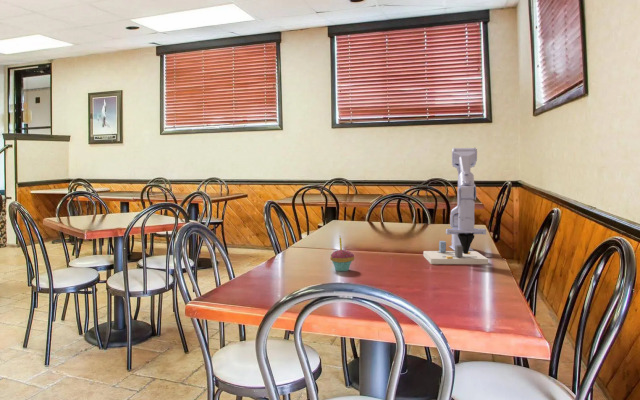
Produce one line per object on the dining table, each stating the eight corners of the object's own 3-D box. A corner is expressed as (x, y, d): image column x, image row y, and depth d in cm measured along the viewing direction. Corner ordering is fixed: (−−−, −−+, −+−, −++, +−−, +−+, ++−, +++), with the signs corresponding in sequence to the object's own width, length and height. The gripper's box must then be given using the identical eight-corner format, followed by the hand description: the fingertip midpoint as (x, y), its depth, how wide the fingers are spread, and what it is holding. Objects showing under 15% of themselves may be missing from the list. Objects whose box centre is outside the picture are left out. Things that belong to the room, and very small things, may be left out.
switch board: (423, 255, 186) (423, 249, 186) (475, 256, 185) (476, 249, 185) (431, 264, 171) (431, 257, 171) (488, 264, 170) (488, 257, 170)
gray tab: (455, 255, 176) (455, 244, 175) (460, 255, 175) (460, 244, 175) (457, 256, 173) (457, 246, 172) (462, 256, 172) (462, 246, 172)
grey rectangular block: (439, 250, 185) (439, 240, 184) (444, 250, 185) (444, 240, 184) (440, 252, 182) (440, 242, 181) (445, 252, 182) (446, 242, 181)
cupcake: (326, 268, 165) (326, 235, 164) (347, 266, 168) (347, 233, 167) (336, 273, 157) (336, 238, 156) (358, 271, 160) (358, 237, 159)
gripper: (449, 218, 169) (448, 255, 170) (489, 218, 168) (488, 255, 170) (444, 216, 176) (444, 251, 177) (483, 216, 175) (482, 251, 177)
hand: (465, 253), depth 174 cm, fingers closed
